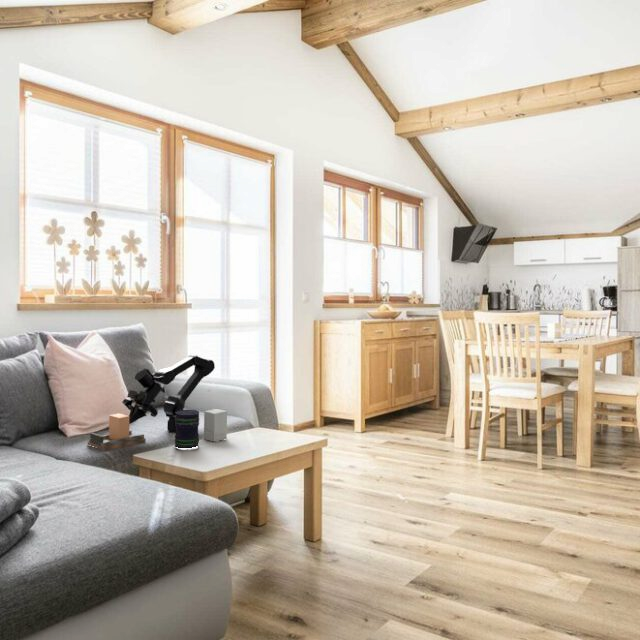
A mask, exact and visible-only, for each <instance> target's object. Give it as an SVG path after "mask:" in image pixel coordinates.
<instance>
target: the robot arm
mask: <svg viewBox="0 0 640 640" xmlns="http://www.w3.org/2000/svg"><path fill="white" fill-rule="evenodd" d="M193 366H194V370H193V373H192V374H191V375H190V376H189V378H188V379H187V381H186V382H185V383H184V385H182V387H181V388H180V390H179V391H178V392H177V394H175V395H169V396H168V398H167V400H165V401H164V404H163V405H162V406H163V411H164V414H165V416H166V418H167V417H168V420H167V425H166V427H167V431H169V432H168V433H176V426H175V416H176V411H179V410H185V404H186V401H187V400H188V398H189V397H190V395H191V394H192V393H193V391H194V390H195V389H196V388H197V387H198V385H199V384H200V382H202V380H203V379H204V378H205V377H207V376H209V375H210V374H211V373H212V372H213V371H214V370H215V368H216V367H215V362H214V360H212V359H207V358H203V357H201V356H198V355H195V354H189V355H188V356H187V357H185V358H183V359H182V360H180V361H178V362H176V363H175V364H173V365H171V366H169V367H165V368H161V369H158V370H156V371H155V372H154V373H152V372H151V370H150V369H148V368H143V370H140V371H138V372H136V374H135V376H134V379H135V381H136V382H137V383H138V384H139V385H140V387H142V388H144V389H145V390H144V391H143V390H138V391H136V390H133V389H132V390H131V389H129V391H128V393H127V398H124V399H123V401H121V403H122V404H123V405H124V406H125V408H127V409H128V410H129V415H128V416H129V425H130V424H132V423H134V422H136V421H138V420H139V419H140V420H141V418H144V417H147V413H150V416H151V417H153V418H156V417H157V416H158V414H159V413H158V412H159V411H158V409H157V408H156V407H155V406H154V405H153V404H155V403H156V400H155V399H156V398H157V397H158V395H159V394H160V393H163V394H164V393H166V390H165V389H166V388H165V386H166V385H170V384H171V383H172V382H173V381H174V380H175V378H176V376H178V375H180V374H181V373H183V372H185V371H186V370H188V369H190V368H191V367H193ZM161 384H162V385H163V386H162V385H161ZM164 385H165V386H164Z"/></svg>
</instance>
